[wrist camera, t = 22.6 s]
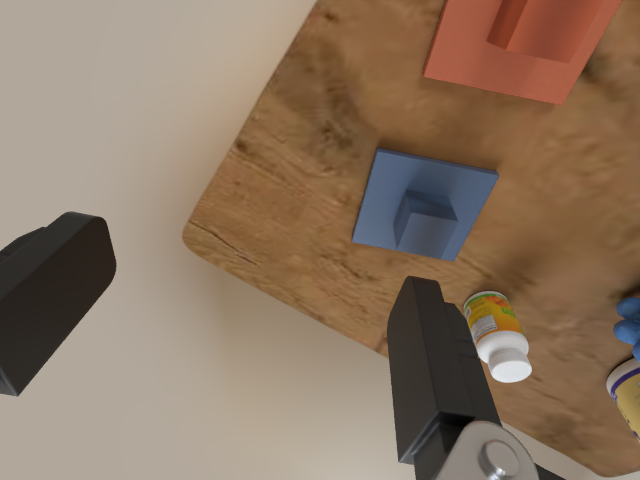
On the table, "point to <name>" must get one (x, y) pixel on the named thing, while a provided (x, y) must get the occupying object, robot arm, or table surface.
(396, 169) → the slate mat
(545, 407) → the table surface
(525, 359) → the supplement bottle
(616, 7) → the terracotta mat
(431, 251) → the slate block
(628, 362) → the supplement tub
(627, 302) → the grapes
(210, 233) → the table surface
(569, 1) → the terracotta block
